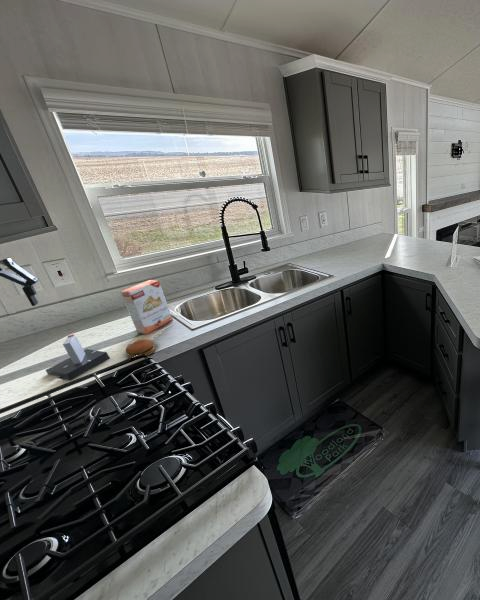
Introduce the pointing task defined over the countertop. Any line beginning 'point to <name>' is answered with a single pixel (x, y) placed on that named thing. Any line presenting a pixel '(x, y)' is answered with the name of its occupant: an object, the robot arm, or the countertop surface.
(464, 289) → the countertop surface
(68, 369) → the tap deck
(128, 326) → the countertop surface
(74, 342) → the tap handle
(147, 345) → the burger
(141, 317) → the cracker box
